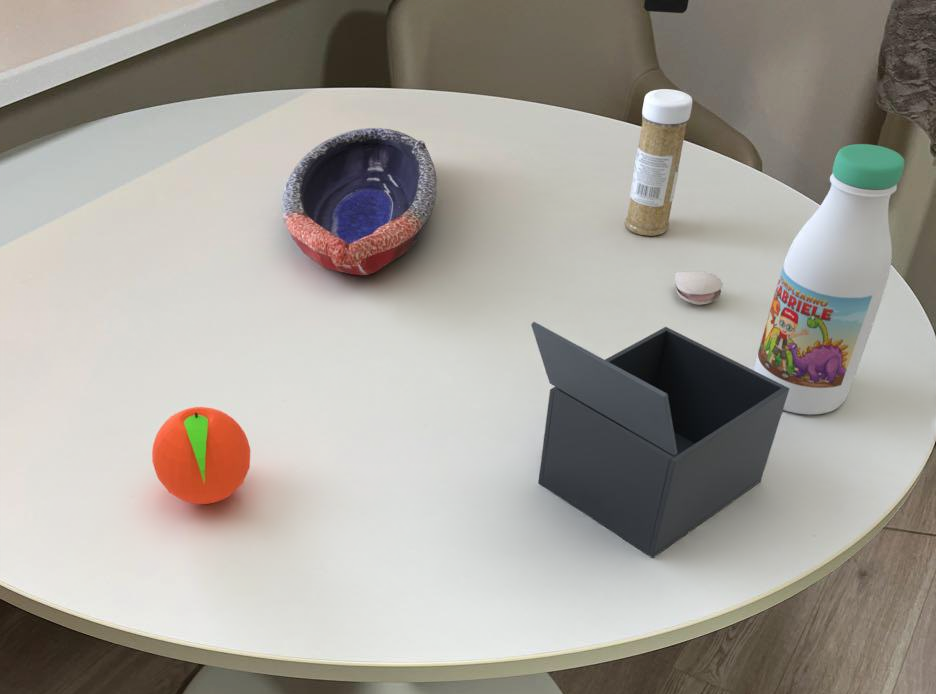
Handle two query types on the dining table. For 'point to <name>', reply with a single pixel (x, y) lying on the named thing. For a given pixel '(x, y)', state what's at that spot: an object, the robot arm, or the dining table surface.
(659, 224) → the sprinkles bottle
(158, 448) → the clementine
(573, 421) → the bin
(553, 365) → the flap
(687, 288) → the macaroon
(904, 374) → the dining table surface
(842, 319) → the milk bottle
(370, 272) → the dish
